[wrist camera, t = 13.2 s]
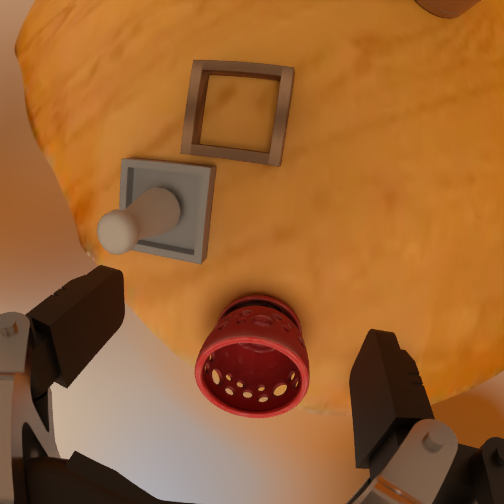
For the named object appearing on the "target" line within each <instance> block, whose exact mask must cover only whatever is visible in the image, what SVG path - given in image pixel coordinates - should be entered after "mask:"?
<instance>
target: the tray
mask: <svg viewBox="0 0 504 504" xmlns="http://www.w3.org/2000/svg"><path fill="white" fill-rule="evenodd" d="M215 174H216V166H210V165H202V164H193V163H184V162H175V161H165V160H154V159H143V158H125V159H122V164H121V181H120V207H119V210H125V209H126V208H127V207H128V206H129V205H131V204H132V203H133V202H134V201H135V200H136V199H137V198H138V197H139V196H141V195H142V194H143V193H144V192H145V191H147V190H149V189H151V188H153V187H156V188H165V189H167V190H168V191H170V192H172V193H173V194H174V195H175V196H176V198H177V200H178V202H179V205H180V208H181V214H180V218H179V222H178V223H177V224H176V226H175V227H174V228H173V229H172V230H171V231H169V232H167V233H164V234H161V235H156V236H152V237H148V238H144V239H140V240H138V242H137V243H136V245H135V246H134V248H133V249H132V250H134V251H139V252H144V253H148V254H153V255H158V256H163V257H167V258H172V259H177V260H182V261H187V262H192V263H197V264H202V263H203V261H204V260H205V259H206V258H207V249H208V239H209V228H210V219H211V209H212V200H213V191H214V182H215Z"/></svg>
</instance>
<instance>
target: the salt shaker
mask: <svg viewBox="0 0 504 504" xmlns="http://www.w3.org/2000/svg"><path fill="white" fill-rule="evenodd" d="M180 214H181V208H180V205H179V202H178V200H177V198H176V196H175V195H174V194H173V193H172V192H170V191H168V190H167V189H165V188H156V187H153V188H151V189H149V190H147V191H145V192H144V193H143V194H142V195H141V196H139V197H138V198H137V199H136V200H135V201H134V202H133V203H132V204H131V205H129V206H128V207H127V208H126V209H125V210H117V209H116V210H112V211H110V212H108V213H106V214H105V215H104V216H102V218H101V219H100V221H99V222H98V227H97V234H98V239H99V242H100V243H101V245H102V246H103V248H104V249H105V250H107V251H108V252H109V253H111V254H116V255H120V254H123V253H126V252H128V251H130V250H132V249H133V248H134V246H135V245H136V243H137V242H138V240H140V239H144V238H148V237H152V236H156V235H161V234H164V233H167V232H169V231H171V230H172V229H173V228H174V227H175V226H176V224H177V223H178V222H179V218H180Z"/></svg>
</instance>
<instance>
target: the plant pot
mask: <svg viewBox="0 0 504 504" xmlns="http://www.w3.org/2000/svg"><path fill="white" fill-rule="evenodd" d="M210 355H211V360H210ZM205 366H206V370H205ZM213 369H214V370H215V371H216V372H217V373H218V375H219V379H220V381H219V384H218V385H217V384H215V383H214V381H213V378H212V371H213ZM294 372H295V376H294V378H293V379H292V380H291V376H292V375H293V373H294ZM226 375H229V376H230V378H231V381H229V380H228V379H227V378H226ZM195 378H196V382H197V385H198V387H199V389H200V390H201V392H202V393H203V395H204V396H205V397H206V398H207V399H208V400H209V401H210V402H212V403H213V404H214V405H216V406H217V407H219V408H221V409H223V410H224V411H227V412H229V413H232V414H235V415H239V416H243V417H250V418H267V417H273V416H277V415H280V414H283V413H285V412H287V411H289V410H291V409H293V408H294V407H295V406H297V405H298V404H299V403H300V402H301V400H302V399H303V398H304V396H305V395H306V393H307V390H308V387H309V360H308V354H307V350H306V347H305V343H304V340H303V338H302V331H301V325H300V322H299V320H298V318H297V316H296V314H295V313H294V312H293V310H292V309H291V308H290V307H288V306H287V305H286V304H284V303H283V302H281V301H279V300H277V299H274V298H272V297H268V296H261V295H254V296H246V297H243V298H240V299H238V300H236V301H234V302H232V303H231V304H229V305H228V306H227V307H226V308H225V309H224V310H223V312H222V313H221V315H220V317H219V320H218V324H217V325H216V326H215V328H214V329H213V331H212V332H211V333H210V335H209V336H208V337H207V339H206V340H205V342H204V344H203V346H202V348H201V350H200V353H199V355H198V358H197V361H196V365H195ZM238 382H240V383H242V384H243V387H238V386H237V383H238ZM297 382H298V384H297V386H296V383H297ZM280 385H287V389H286V391H285V392H284V393H283V394H282V395H280V396H276V395H274V390H275V389H276V388H277V387H278V386H280ZM260 387H264V388H265V389H264V390H263V391H259V390H258V388H260ZM226 388H229V389H230V390H232V391H233V395H230V394H228V393H226V391H225V389H226ZM244 392H250V393H251V394H252V397H250V398H246V397H244V396H243V393H244ZM262 397H267V398H268V400H267V401H265V402H259V399H260V398H262Z"/></svg>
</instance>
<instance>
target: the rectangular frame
mask: <svg viewBox="0 0 504 504" xmlns="http://www.w3.org/2000/svg"><path fill="white" fill-rule="evenodd" d="M294 74H295V73H294V67H287V66H279V65H271V64H261V63H250V62H237V61H218V60H193V65H192V71H191V78H190V84H189V91H188V97H187V104H186V112H185V119H184V127H183V135H182V144H181V152H180V154H189V155H198V156H207V157H215V158H223V159H231V160H238V161H245V162H252V163H259V164H266V165H272V166H278V167H279V166H280V165H281V161H282V154H283V148H284V141H285V135H286V128H287V121H288V115H289V108H290V101H291V94H292V88H293V81H294ZM209 75H225V76H239V77H251V78H261V79H270V80H278V81H280V88H279V95H278V102H277V108H276V115H275V122H274V129H273V135H272V142H271V149H270V153H265V152H259V151H252V150H244V149H237V148H229V147H220V146H212V145H202V144H200V136H201V128H202V120H203V113H204V106H205V99H206V92H207V86H208V79H209Z"/></svg>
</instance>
